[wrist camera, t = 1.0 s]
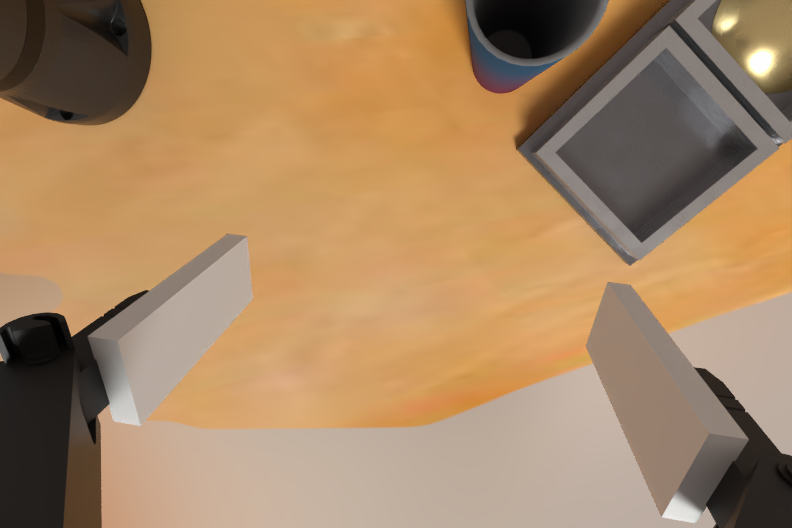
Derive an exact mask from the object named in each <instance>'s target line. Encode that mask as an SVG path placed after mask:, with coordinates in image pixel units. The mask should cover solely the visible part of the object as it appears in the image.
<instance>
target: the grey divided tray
mask: <svg viewBox="0 0 792 528" xmlns="http://www.w3.org/2000/svg"><path fill="white" fill-rule="evenodd" d="M790 139H792V0H669V1H668V2H667V3H666V4H665V5H664V6H663V7H662V8H661V9H660V10H659V11H658V12H657V13H656V14H655V15H654V16H653V17H651V18H650V19H649V20H648V21H647V22H646V23H645V24H644V25H643V26H642V27H641V28H640V29H639V30H638V31H637V32H636V33H635V34H634V35H633V36H632V37H631V38H630V39H629V40H628V41H627V42H626V43H625V44H624V45H623V46H622V47H621V48H620V49H619V50H618V51H617V52H616V53H615V54H614V55H613V56H612V57H611V58H609V59H608V60H607V61H606V62H605V63H604V64H603V65H602V66H601V67H600V68H599V69H598V70H597V71H596V72H595V73H594V74H593V75H592V76H591V77H590V78H589V79H588V80H587V81H586V82H585V83H584V84H583V85H582V86H581V87H580V88H579V89H578V90H577V91H576V92H575V93H574V94H573V95H572V96H571V97H570V98H569V99H567V100H566V101H565V102H564V103H563V104H562V105H561V106H560V107H559V108H558V109H557V110H556V111H555V112H554V113H553V114H552V115H551V116H550V117H549V118H548V119H547V120H546V121H545V122H544V123H543V124H542V125H541V126H540V127H539V128H538V129H537V130H536V131H535V132H534V133H533V134H532V135H531V136H530V137H529V138H528V139H526V140H525V141H524V142H523V143H522V144H521V145H520V146H519V147H518V148H517V149H516V150H517V151H518V152H519V153H520V154H521V155H522V156H523V157H524V158H525V159H526V160H527V161H528V162H529V163H530V164H531V165H532V166H533V167H534V168H535V169H536V171H537V172H538V173H539V174H540V175H541V176H542V177H543V178H544V179H545V180H546V181H547V182H548V183H549V184H550V185H551V186H552V187H553V188H554V189H555V190H556V191H557V192H558V193H559V194H560V195H561V196H562V198H563V199H564V200H565V201H566V202H567V203H568V204H569V205H570V206H571V207H572V208H573V209H574V210H575V211H576V212H577V213H578V214H579V215H580V216H581V217H582V218H583V219H584V220H585V221H586V222H587V224H588V225H589V226H590V227H591V228H592V229H593V230H594V231H595V232H596V233H597V234H598V235H599V236H600V237H601V238H602V239H603V240H604V241H605V242H606V243H607V244H608V245H609V246H610V247H611V248H612V250H613V251H614V252H615V253H616V254H617V255H618V256H619V257H620V258H621V259H622V260H623V261H624V262H625V263H626V264H628V265H632V264H633V263H634V262H635V261H637V260H641V259H642V258H643V257H644V256H646V255H647V254H648V253H649V252H651V251H652V250H653V249H654V248H656V247H657V246H658V245H659V244H661V243H662V242H663V241H664V240H666V239H667V238H668V237H669V236H671V235H672V234H673V233H674V232H676V231H677V230H678V229H679V228H681V227H682V226H683V225H684V224H686V223H687V222H688V221H689V220H691V219H692V218H693V217H694V216H696V215H697V214H698V213H699V212H701V211H702V210H703V209H704V208H706V207H707V206H708V205H709V204H711V203H712V202H713V201H714V200H716V199H717V198H718V197H719V196H721V195H722V194H723V193H724V192H726V191H727V190H728V189H729V188H731V187H732V186H733V185H734V184H736V183H737V182H738V181H739V180H741V179H742V178H743V177H744V176H746V175H747V174H748V173H749V172H751V171H752V170H753V169H754V168H756V167H757V166H758V165H759V164H761V163H762V162H763V161H764V160H765V159H767V158H768V157H769V156H770V155H772V154H773V153H774V152H775V151H777V150H778V149H779V146H780V145H781V144H782V143H787V142H788V141H789V140H790Z"/></svg>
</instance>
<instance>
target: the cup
mask: <svg viewBox="0 0 792 528" xmlns="http://www.w3.org/2000/svg"><path fill="white" fill-rule="evenodd" d="M608 1H609V0H465V3H466V12H467V21H468V30H469V39H470V48H471V57H472V66H473V72H474V75H475V77H476V79H477V81H478V82H479V83H480V85H481V86H482V87H484V88H485V89H486V90H488V91H491V92H494V93H508V92H511V91H513V90H516V89H517V88H519V87H520V86H522V85H523V84H525V83H526V82H528V81H529V80H531V79H533V78H534V77H536V76H537V75H539V74H540V73H542V72H543V71H545V70H546V69H548V68H549V67H551V66H552V65H554V64H555V63H557V62H558V61H560V60H561V59H563V58H564V57H566V56H567V55H569V54H570V53H572V52H573V51H575V50H576V49H578V48H579V47H580V46H581V45H582V44H583V43H584V42H585V41H586V40H587V39H588V38H589V37H590V35H591V34H592V33H593V31H594V30H595V29H596V27H597V26H598V24H599V22H600V20H601V18H602V16H603V14H604V12H605V10H606V7H607V4H608Z"/></svg>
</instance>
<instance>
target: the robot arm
mask: <svg viewBox="0 0 792 528" xmlns="http://www.w3.org/2000/svg"><path fill="white" fill-rule="evenodd" d="M150 61H151V41H150V33H149V28H148V23H147V20H146V16H145V13H144V10H143V8H142V6H141V3H140V1H139V0H0V98H2V99H4V100H6V101H9V102H11V103H13V104H15V105H17V106H20V107H22V108H24V109H26V110H28V111H31V112H33V113H35V114H37V115H39V116H42V117H44V118H47V119H50V120H53V121H57V122H61V123H68V124H78V125H100V124H104V123H107V122H110V121H113V120H115V119H117V118H118V117H120V116H121V115H123V114H124V113H125V112H127V111H128V110H129V109H130V108H131V107H132V106H133V104H134V103H135V102H136V100H137V99H138V97H139V96H140V94H141V92H142V90H143V88H144V86H145V83H146V80H147V77H148V73H149V68H150ZM252 299H253V296H252V285H251V274H250V263H249V252H248V241H247V236H241V235H233V234H227V235H225V236H224V237H223V238H221V239H220V240H219V241H217V242H216V243H214V244H213V245H212V246H210V247H209V248H208V249H206V250H205V251H204V252H202V253H201V254H199V255H198V256H197V257H195V258H194V259H193V260H191V261H190V262H188V263H187V264H186V265H184V266H183V267H182V268H180V269H179V270H178V271H176V272H175V273H173V274H172V275H171V276H169V277H168V278H167V279H165V280H164V281H162V282H161V283H160V284H158V285H157V286H156V287H154V288H153V289H152V290H150V291H148V290H145V291H143V292H140V293H138V294H135V295H133V296H130V297H128V298H127V299H125V300H124V301H122V302H121V303H120V304H118V305H117V306H115V309H111V310H110V311H108V312H107V313H105V314H104V316H103V317H102V316H101V317H100V318H98V319H97V320H95V321H94V322H93V323H91V324H90V325H88V326H87V327H85V328H84V329H83V330H81V331H80V332H78V333H77V334H75V335H74V336H73V337H71V334H70V331H69V328H68V325H67V322H66V320H65V317H64V316H62V315H60V314H58V313H39V314H32V315H28V316H24V317H20V318H18V319H16V320H13V321H11V322H8V323H7V324H5V325H4V326H2V327H1V328H0V353H1V355H2V358H3V360H4V361H1V362H0V528H102V527H101V524H102V523H101V441H100V440H101V439H100V438H101V436H100V435H101V434H100V422H99V419H98V416H97V415H98V414H99V413H100V412H101V411H102V410H103V409H104V408H106V407H107V406H108V405H109V407H110V411H111V414H112V417H113V420H114V421H116V422H121V423H127V424H133V425H139V426H141V425H142V424H143V423H144V422H145V420H146V419H147V418H148V417H149V416H150V415H151V414H152V413H153V411H154V410H155V409H156V408H157V407H158V406H159V405H160V403H161V402H162V401H163V400H164V399H165V398H166V397H167V396H168V394H169V393H170V392H171V391H172V390H173V389H174V388H175V386H176V385H177V384H178V383H179V382H180V381H181V380H182V379H183V377H184V376H185V375H186V374H187V373H188V372H189V371H190V370H191V368H192V367H193V366H194V365H195V364H196V363H197V362H198V360H199V359H200V358H201V357H202V356H203V355H204V354H205V353H206V351H207V350H208V349H209V348H210V347H211V346H212V345H213V343H214V342H215V341H216V340H217V339H218V338H219V337H220V336H221V334H222V333H223V332H224V331H225V330H226V329H227V328H228V326H229V325H230V324H231V323H232V322H233V321H234V320H235V319H236V317H237V316H238V315H239V314H240V313H241V312H242V311H243V309H244V308H245V307H246V306H247V305H248V304H249V303H250V302H251V300H252ZM586 348H587V350H588V352H589V354H590V357H591V359H592V361H593V363H594V366H595V368H596V370H597V372H598V375H599V377H600V379H601V382H602V384H603V386H604V388H605V391H606V393H607V395H608V397H609V400H610V402H611V404H612V406H613V409H614V411H615V413H616V415H617V418H618V420H619V422H620V424H621V426H622V429H623V431H624V434H625V436H626V438H627V440H628V443H629V445H630V447H631V449H632V452H633V454H634V456H635V458H636V461H637V463H638V465H639V467H640V470H641V472H642V474H643V476H644V479H645V481H646V483H647V485H648V488H649V490H650V492H651V495H652V497H653V499H654V501H655V503H656V506H657V508H658V510H659V513H660V515H661V517H663V518H669V519H674V520H680V521H686V522H691V523H696V522H697V521H698V519H699V518H700V516H701V514H702V513H703V511H704V510H705V508H706V507H708V509H709V511H710V513H711V514H712V516H713V518H714V520H715V522H716V524H715V526H714V527H713V528H792V456H790V455H786V454H782V453H781V452H780V451H779V450H778V449H777V448H776V446H775V445H774V444H773V443H772V441H771V440H770V439H769V438H768V437H767V435H766V434H765V433H764V432H763V431H762V429H761V428H760V427H759V426H758V424H757V423H756V422H755V421H754V420H753V418H752V417H751V416H750V415H749V414H748V413H747V412H745V409H744V407H743V406H742V405H741V404H740V403H739V401H738V400H735V397H734V395H733V394H732V393H731V392H730V390H729V389H728V388H727V387H726V386H725V384H724V383H723V382H722V381H720V380H719V379H718V378H716V377H715V376H714V375H712V374H711V373H710V372H708V371H707V370H706V369H702V368H695V367H693V366H692V365H691V363H690V362H689V361H688V359H687V358H686V357H685V355H684V354H683V353H682V351H681V350H680V349H679V348H678V346H677V345H676V344H675V342H674V341H673V340H672V338H671V337H670V336H669V334H668V333H667V332H666V331H665V329H664V328H663V327H662V325H661V324H660V323H659V321H658V320H657V319H656V318H655V316H654V315H653V314H652V312H651V311H650V310H649V308H648V307H647V306H646V304H645V303H644V302H643V301H642V299H641V298H640V297H639V295H638V294H637V293H636V291H635V290H634V289H633V288H632V286H631V285H627V284H619V283H611V282H608V283H607V285H606V288H605V291H604V294H603V297H602V300H601V303H600V306H599V309H598V312H597V315H596V318H595V321H594V324H593V327H592V329H591V332H590V335H589V338H588V341H587V344H586Z"/></svg>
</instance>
